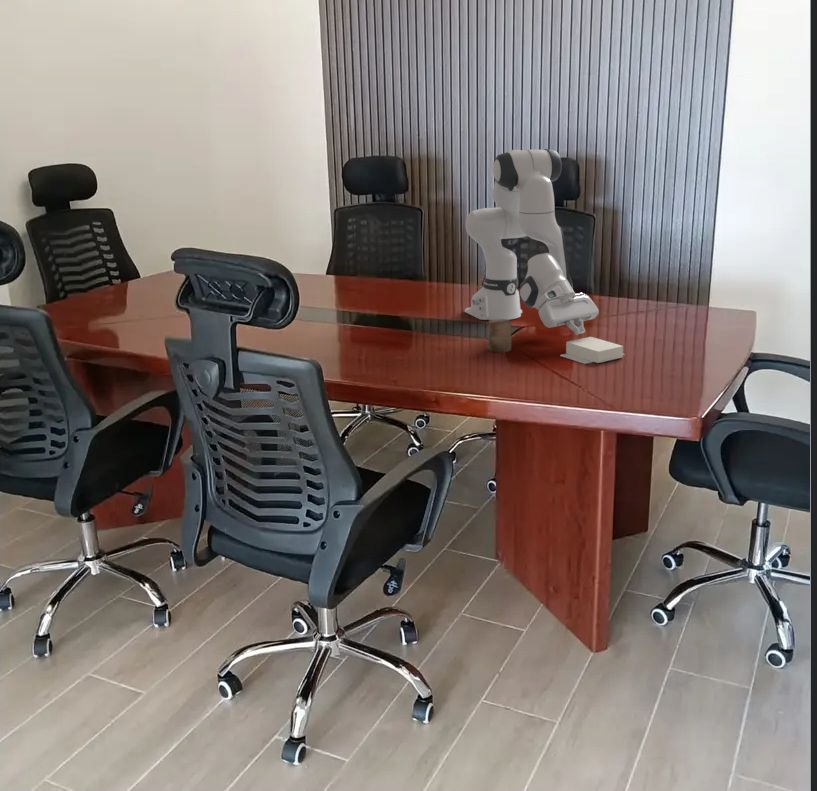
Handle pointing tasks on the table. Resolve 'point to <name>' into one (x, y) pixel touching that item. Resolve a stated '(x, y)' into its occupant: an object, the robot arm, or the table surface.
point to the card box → (594, 349)
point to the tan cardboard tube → (499, 335)
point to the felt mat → (577, 358)
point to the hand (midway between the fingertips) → (580, 333)
